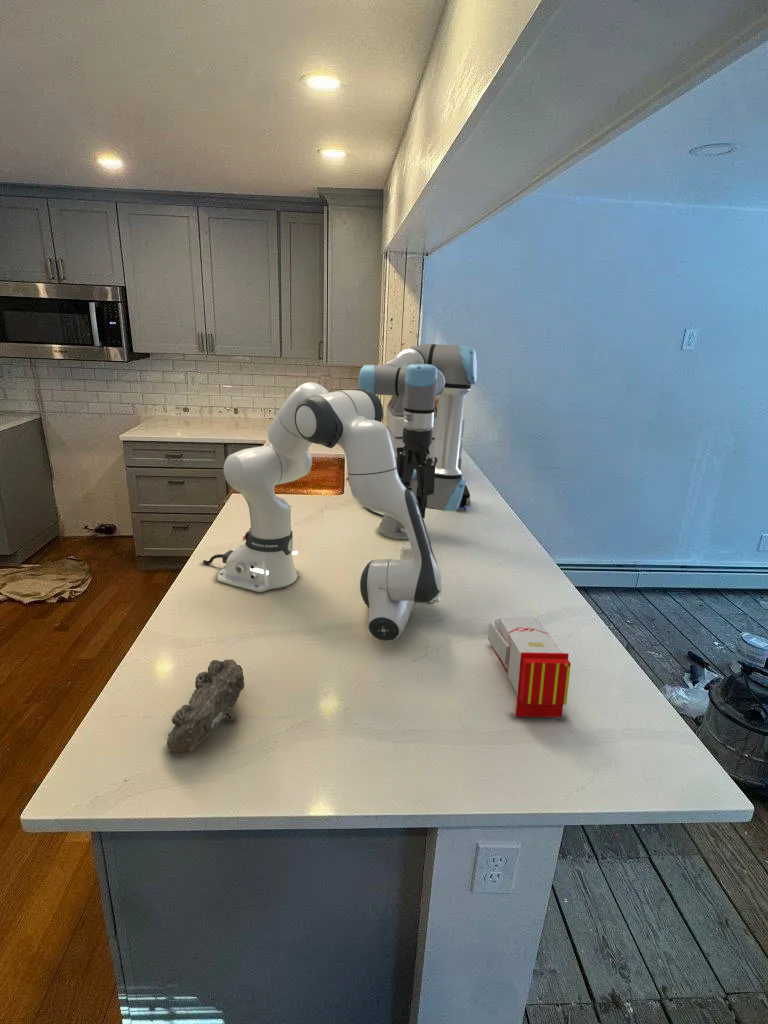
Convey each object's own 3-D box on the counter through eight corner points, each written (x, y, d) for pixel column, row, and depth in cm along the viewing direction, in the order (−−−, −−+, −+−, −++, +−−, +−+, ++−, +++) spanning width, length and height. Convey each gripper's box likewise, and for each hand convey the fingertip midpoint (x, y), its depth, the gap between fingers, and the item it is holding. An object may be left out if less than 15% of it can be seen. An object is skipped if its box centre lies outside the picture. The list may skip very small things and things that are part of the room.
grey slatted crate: (382, 463, 289) (386, 382, 275) (445, 464, 293) (451, 384, 279) (390, 482, 257) (394, 392, 243) (460, 483, 261) (468, 394, 247)
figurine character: (470, 515, 225) (465, 499, 238) (472, 498, 221) (467, 483, 235) (453, 515, 224) (449, 499, 238) (455, 497, 221) (451, 482, 234)
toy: (534, 602, 136) (579, 659, 107) (529, 653, 139) (572, 723, 110) (484, 601, 136) (516, 658, 107) (480, 652, 139) (510, 722, 109)
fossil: (192, 660, 117) (244, 628, 112) (224, 691, 120) (276, 661, 115) (142, 746, 98) (202, 712, 93) (182, 779, 101) (242, 748, 96)
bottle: (398, 601, 154) (401, 550, 149) (396, 593, 158) (399, 543, 153) (415, 601, 154) (418, 549, 149) (412, 593, 159) (415, 543, 153)
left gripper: (439, 592, 139) (446, 569, 152) (359, 581, 143) (372, 559, 156) (437, 615, 141) (444, 590, 154) (358, 603, 145) (371, 579, 158)
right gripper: (384, 422, 146) (380, 507, 154) (430, 437, 133) (424, 529, 141) (406, 420, 150) (402, 502, 159) (454, 433, 137) (446, 523, 145)
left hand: (407, 574), depth 155 cm, fingers closed on bottle, 4 cm apart
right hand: (412, 514), depth 150 cm, fingers closed on lid, 5 cm apart
